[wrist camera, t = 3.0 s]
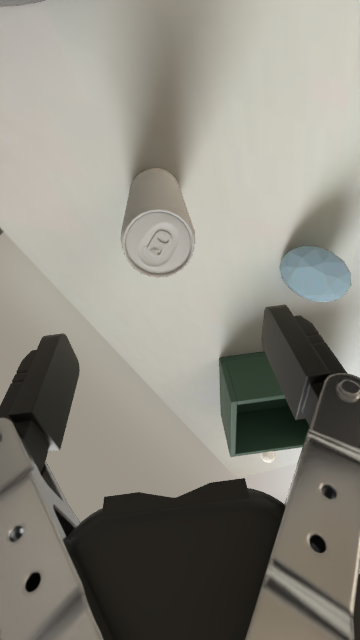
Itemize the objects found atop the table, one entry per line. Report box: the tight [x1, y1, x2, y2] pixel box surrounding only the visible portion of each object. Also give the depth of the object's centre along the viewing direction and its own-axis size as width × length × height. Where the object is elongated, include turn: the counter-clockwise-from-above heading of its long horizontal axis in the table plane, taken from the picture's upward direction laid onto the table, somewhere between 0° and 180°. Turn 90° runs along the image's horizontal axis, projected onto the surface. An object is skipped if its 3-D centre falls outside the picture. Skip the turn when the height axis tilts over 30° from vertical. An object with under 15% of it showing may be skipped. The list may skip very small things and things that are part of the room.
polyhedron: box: [261, 451, 275, 463], centre depth 59 cm, size 3×3×3 cm
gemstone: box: [280, 246, 351, 302], centre depth 32 cm, size 8×8×5 cm
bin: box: [219, 352, 309, 457], centre depth 44 cm, size 15×15×8 cm
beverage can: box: [121, 168, 195, 278], centre depth 23 cm, size 5×5×12 cm
